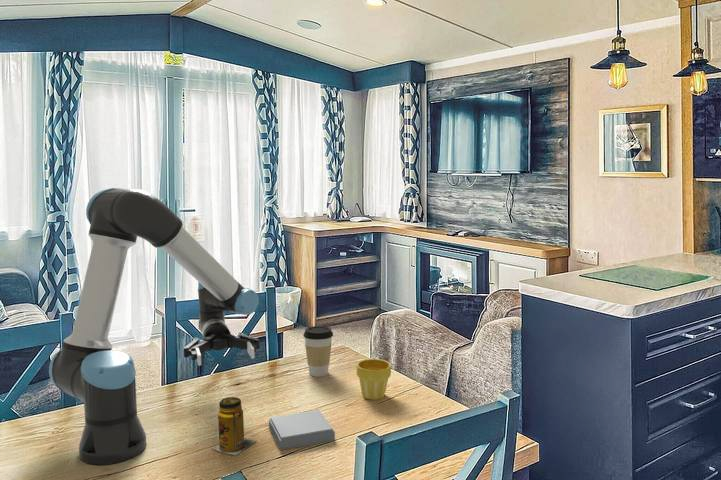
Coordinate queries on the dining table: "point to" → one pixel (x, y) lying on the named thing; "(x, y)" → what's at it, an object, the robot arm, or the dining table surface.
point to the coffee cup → (318, 349)
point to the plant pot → (373, 377)
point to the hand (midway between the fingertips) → (226, 357)
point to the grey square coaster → (300, 429)
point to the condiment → (231, 427)
